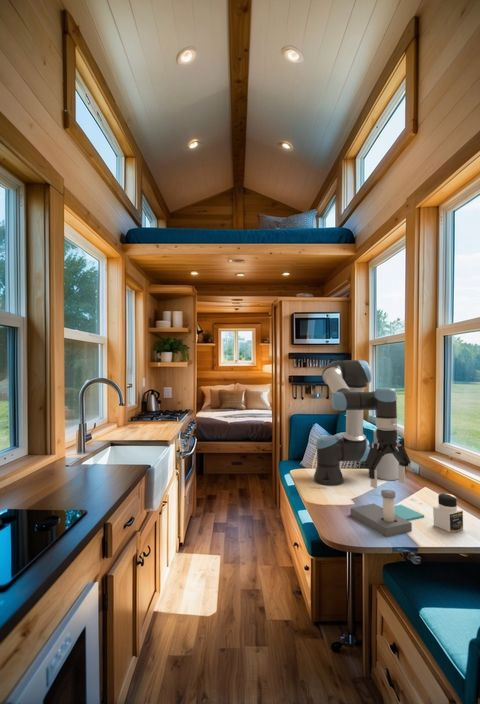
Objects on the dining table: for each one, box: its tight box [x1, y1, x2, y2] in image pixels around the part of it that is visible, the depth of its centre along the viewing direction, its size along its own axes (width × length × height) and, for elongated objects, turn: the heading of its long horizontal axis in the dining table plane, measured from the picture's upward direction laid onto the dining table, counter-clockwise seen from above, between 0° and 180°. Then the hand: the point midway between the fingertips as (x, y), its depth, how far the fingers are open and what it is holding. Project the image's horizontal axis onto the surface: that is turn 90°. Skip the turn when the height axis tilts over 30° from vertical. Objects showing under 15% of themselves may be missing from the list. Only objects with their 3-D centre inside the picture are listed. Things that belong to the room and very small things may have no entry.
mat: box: [394, 504, 425, 522], centre depth 148 cm, size 12×12×1 cm
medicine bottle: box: [432, 493, 464, 534], centre depth 136 cm, size 7×7×12 cm
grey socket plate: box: [350, 503, 413, 538], centre depth 140 cm, size 20×12×3 cm, turn 21°
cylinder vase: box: [373, 429, 400, 481], centre depth 197 cm, size 12×12×25 cm
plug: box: [380, 489, 396, 523], centre depth 136 cm, size 5×5×14 cm
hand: (388, 485), depth 136 cm, fingers open, 13 cm apart
